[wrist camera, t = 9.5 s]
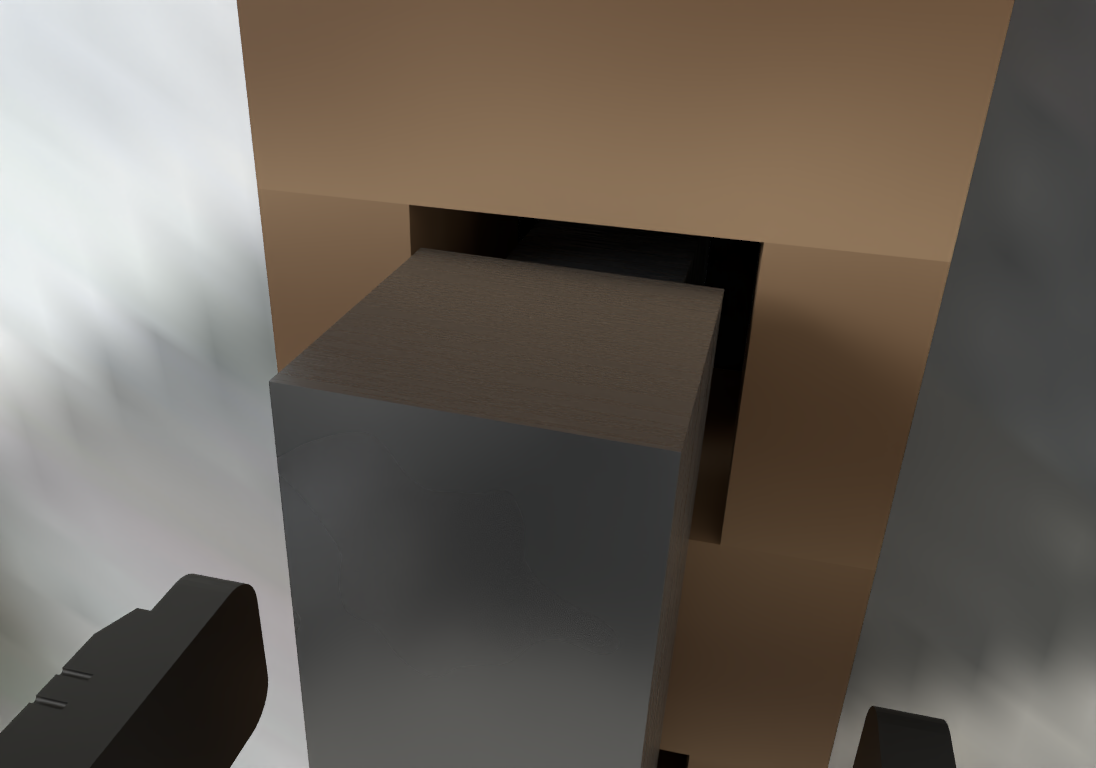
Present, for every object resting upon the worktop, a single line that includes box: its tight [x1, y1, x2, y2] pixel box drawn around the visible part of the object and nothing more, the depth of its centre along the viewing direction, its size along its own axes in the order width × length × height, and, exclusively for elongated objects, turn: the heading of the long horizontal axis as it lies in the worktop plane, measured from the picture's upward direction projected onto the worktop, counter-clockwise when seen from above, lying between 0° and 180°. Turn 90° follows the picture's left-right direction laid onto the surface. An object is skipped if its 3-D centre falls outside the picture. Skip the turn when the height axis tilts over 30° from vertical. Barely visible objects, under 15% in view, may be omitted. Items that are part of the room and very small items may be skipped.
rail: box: [237, 0, 1015, 768], centre depth 14 cm, size 22×7×4 cm, turn 178°
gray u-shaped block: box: [269, 219, 724, 768], centre depth 12 cm, size 10×3×8 cm, turn 178°
